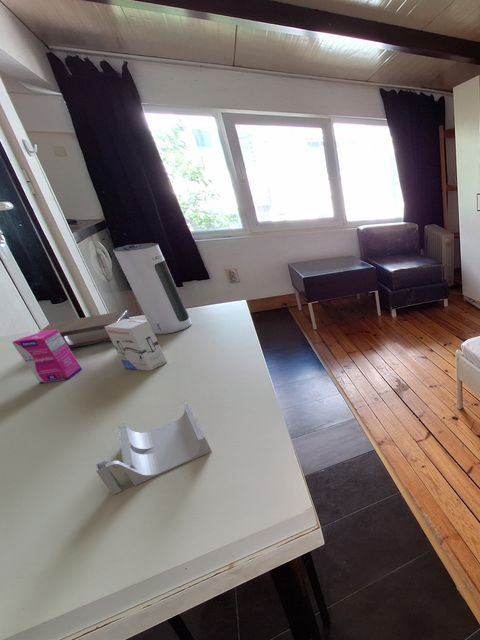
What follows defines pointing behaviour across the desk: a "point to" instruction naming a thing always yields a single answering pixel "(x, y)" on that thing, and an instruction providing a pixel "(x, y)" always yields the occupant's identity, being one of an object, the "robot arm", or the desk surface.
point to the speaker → (153, 287)
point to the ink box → (136, 344)
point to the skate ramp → (156, 450)
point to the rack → (86, 328)
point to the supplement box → (47, 355)
